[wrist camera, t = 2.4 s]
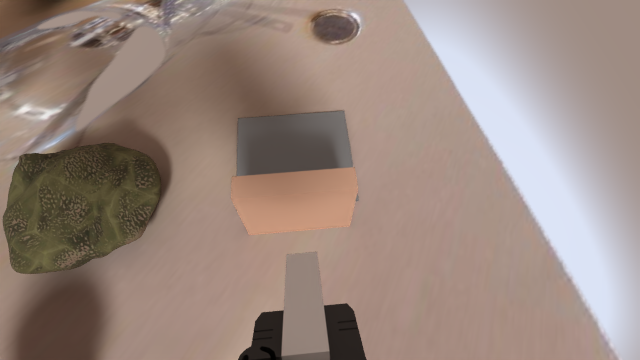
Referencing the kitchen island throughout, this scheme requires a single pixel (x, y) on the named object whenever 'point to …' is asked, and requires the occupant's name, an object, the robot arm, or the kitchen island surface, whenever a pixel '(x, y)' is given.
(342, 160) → the mat
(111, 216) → the decorative rock
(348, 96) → the kitchen island surface
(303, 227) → the tile
